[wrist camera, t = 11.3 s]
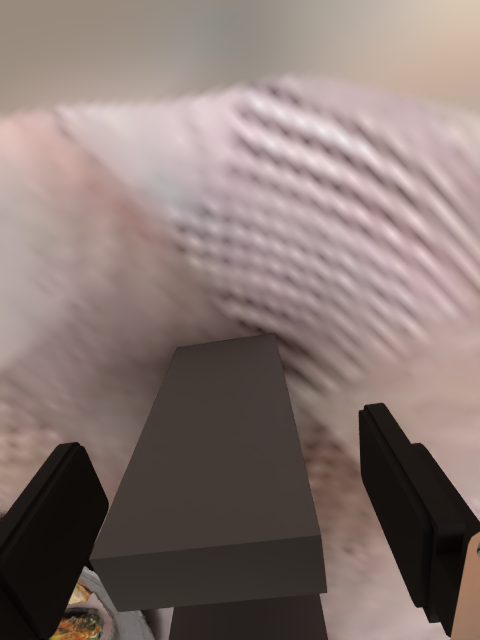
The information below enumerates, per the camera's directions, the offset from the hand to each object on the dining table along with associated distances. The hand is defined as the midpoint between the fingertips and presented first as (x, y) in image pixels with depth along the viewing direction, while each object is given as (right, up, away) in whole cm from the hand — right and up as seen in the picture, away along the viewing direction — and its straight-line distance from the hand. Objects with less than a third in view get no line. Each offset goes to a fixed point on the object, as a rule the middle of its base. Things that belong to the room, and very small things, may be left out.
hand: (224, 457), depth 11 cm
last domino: (0, +3, +6) cm, 6 cm away
